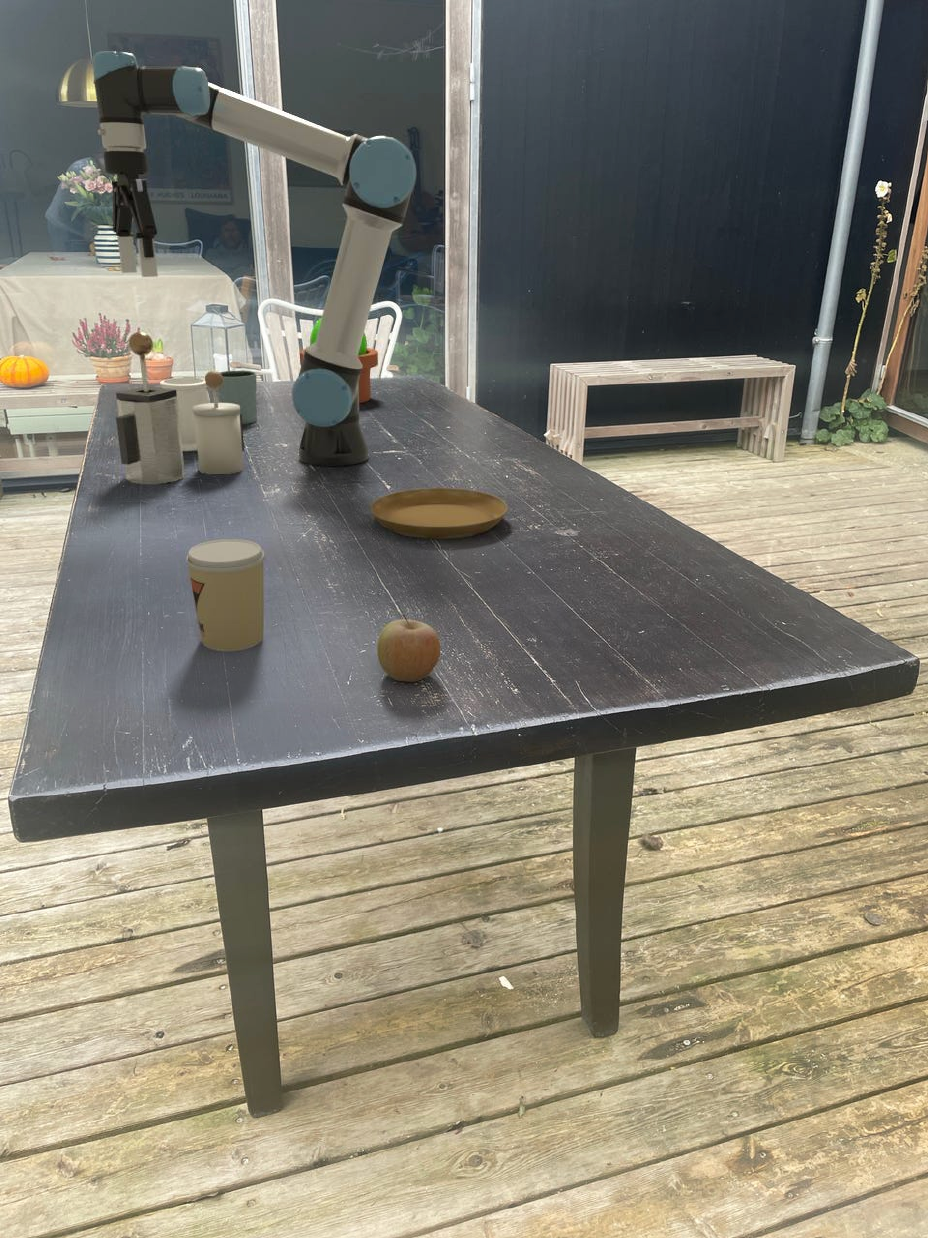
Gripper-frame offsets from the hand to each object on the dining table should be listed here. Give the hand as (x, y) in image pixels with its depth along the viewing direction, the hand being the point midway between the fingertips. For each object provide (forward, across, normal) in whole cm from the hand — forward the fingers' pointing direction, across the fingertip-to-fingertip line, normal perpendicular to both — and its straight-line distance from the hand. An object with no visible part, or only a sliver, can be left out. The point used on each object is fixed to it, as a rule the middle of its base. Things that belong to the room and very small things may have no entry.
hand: (139, 274), depth 182 cm
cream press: (+39, +3, +12) cm, 41 cm away
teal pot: (+39, -42, +33) cm, 66 cm away
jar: (+39, -18, +12) cm, 45 cm away
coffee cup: (+39, +87, -18) cm, 97 cm away
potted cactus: (+39, -56, +69) cm, 97 cm away
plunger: (+31, +3, -2) cm, 31 cm away
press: (+38, +4, -3) cm, 39 cm away
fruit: (+39, +107, -4) cm, 114 cm away
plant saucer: (+39, +58, +32) cm, 76 cm away
